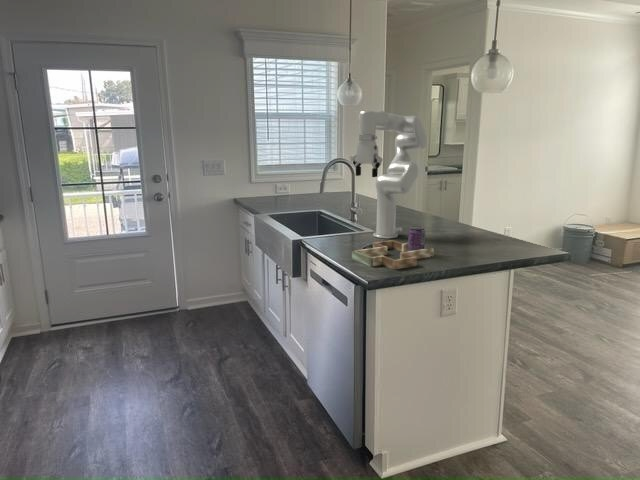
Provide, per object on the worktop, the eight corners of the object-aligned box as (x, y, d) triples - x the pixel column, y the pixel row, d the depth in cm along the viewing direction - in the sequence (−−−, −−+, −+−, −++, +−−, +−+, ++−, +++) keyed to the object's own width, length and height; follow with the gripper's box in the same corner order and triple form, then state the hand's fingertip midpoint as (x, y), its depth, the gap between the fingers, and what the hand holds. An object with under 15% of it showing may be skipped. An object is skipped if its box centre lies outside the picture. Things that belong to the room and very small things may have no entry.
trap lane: (401, 246, 224) (401, 238, 224) (446, 260, 200) (447, 252, 199) (341, 254, 208) (341, 247, 208) (383, 271, 183) (383, 262, 183)
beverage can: (421, 252, 214) (423, 225, 211) (425, 256, 207) (427, 228, 204) (406, 252, 213) (407, 225, 211) (409, 256, 207) (410, 228, 204)
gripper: (387, 138, 215) (386, 177, 219) (357, 138, 227) (357, 174, 231) (377, 139, 210) (376, 178, 214) (347, 138, 222) (346, 175, 225)
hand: (366, 176), depth 222 cm, fingers open, 9 cm apart
